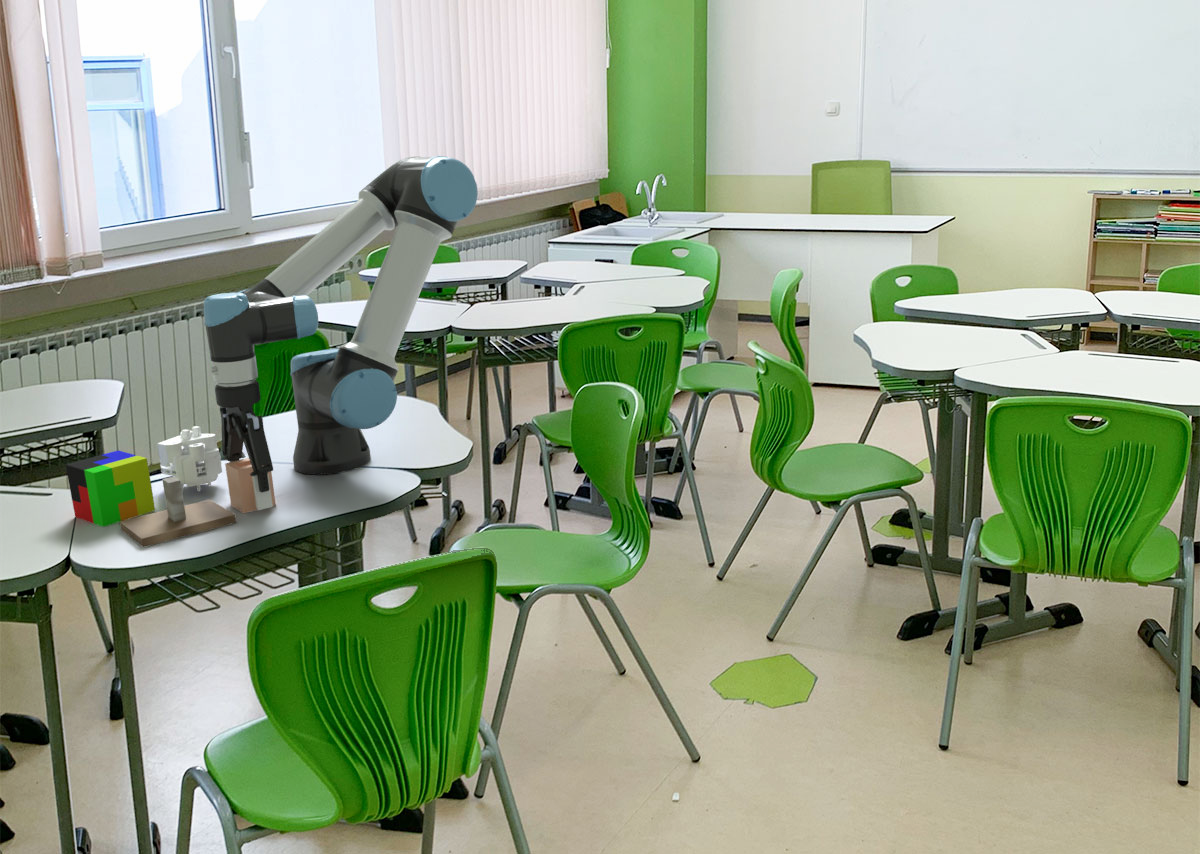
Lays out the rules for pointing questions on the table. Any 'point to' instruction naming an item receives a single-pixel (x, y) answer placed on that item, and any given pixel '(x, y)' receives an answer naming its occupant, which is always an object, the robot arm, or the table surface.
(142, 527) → the shaft plate
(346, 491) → the table surface
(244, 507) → the peach block with hole
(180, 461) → the mechanical part
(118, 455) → the puzzle toy
